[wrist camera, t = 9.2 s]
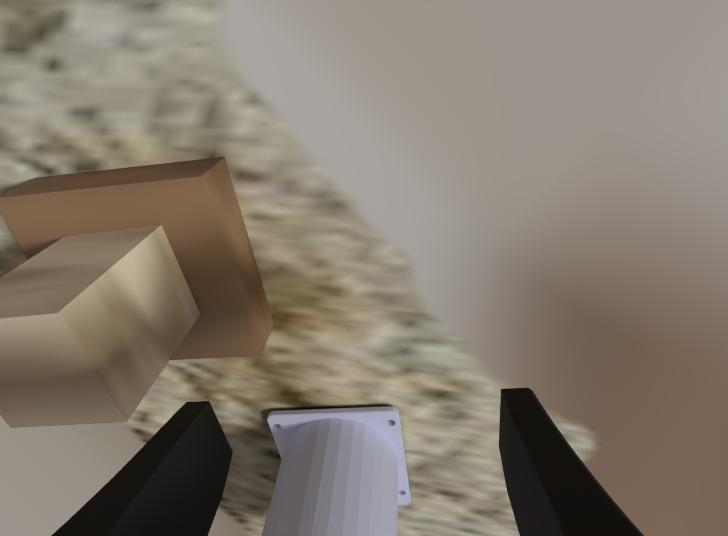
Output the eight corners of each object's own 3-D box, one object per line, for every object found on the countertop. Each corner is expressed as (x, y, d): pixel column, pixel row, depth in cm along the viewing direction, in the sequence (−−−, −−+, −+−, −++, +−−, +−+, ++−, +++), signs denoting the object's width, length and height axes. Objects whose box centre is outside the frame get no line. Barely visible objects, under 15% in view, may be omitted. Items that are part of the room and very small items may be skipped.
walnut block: (276, 317, 23) (260, 355, 21) (124, 326, 24) (91, 363, 22) (228, 153, 19) (201, 176, 16) (44, 174, 20) (-10, 198, 17)
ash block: (200, 314, 19) (126, 421, 14) (112, 322, 20) (11, 427, 15) (161, 224, 17) (57, 313, 12) (63, 237, 18) (-75, 326, 13)
